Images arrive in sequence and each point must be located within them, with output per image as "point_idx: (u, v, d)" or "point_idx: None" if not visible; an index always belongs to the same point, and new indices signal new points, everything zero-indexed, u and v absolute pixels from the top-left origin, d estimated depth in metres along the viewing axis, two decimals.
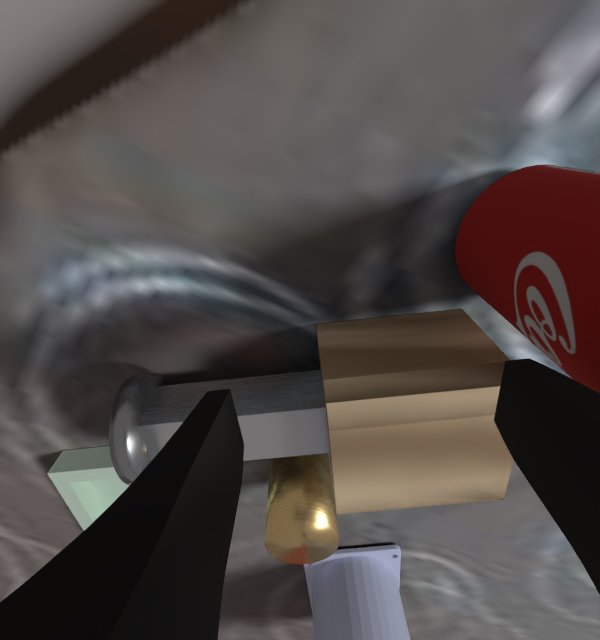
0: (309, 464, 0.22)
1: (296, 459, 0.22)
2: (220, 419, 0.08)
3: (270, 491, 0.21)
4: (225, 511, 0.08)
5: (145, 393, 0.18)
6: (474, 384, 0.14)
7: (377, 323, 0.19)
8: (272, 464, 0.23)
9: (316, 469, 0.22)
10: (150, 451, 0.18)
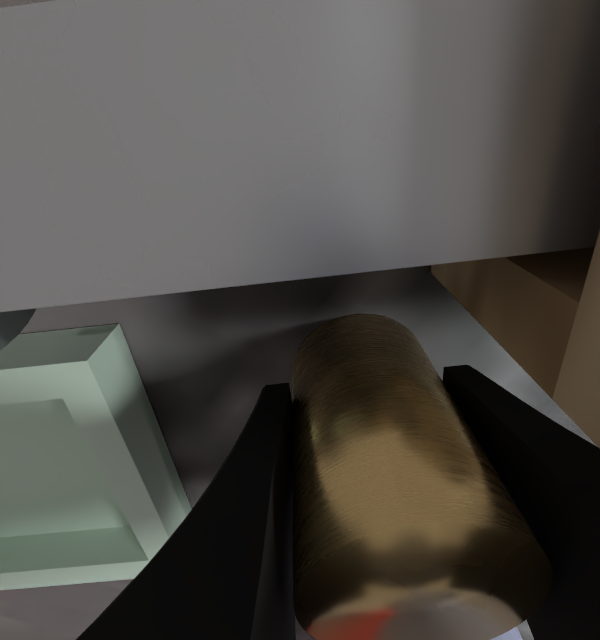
0: (407, 368, 0.08)
1: (370, 358, 0.08)
2: (287, 412, 0.08)
3: (302, 439, 0.07)
4: (292, 505, 0.08)
5: None
6: None
7: None
8: (301, 380, 0.09)
9: (428, 381, 0.08)
10: None
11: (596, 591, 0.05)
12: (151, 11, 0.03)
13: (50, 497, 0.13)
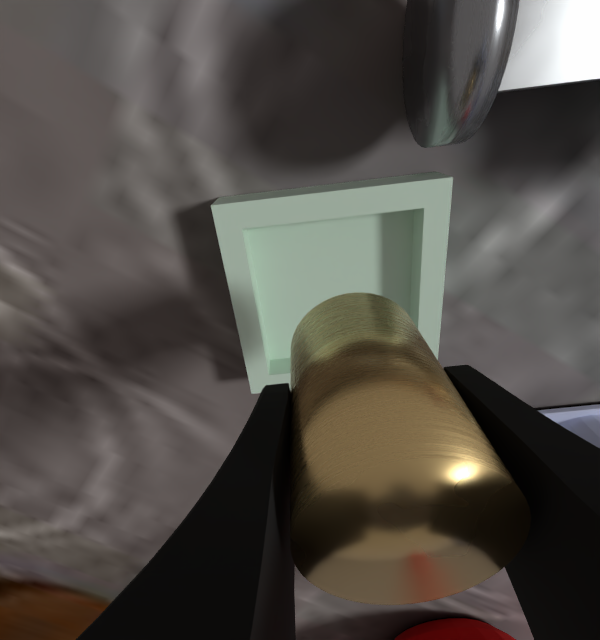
0: (404, 339, 0.08)
1: (369, 328, 0.09)
2: (287, 413, 0.08)
3: (302, 399, 0.08)
4: None
5: None
6: None
7: None
8: (302, 350, 0.09)
9: (423, 351, 0.08)
10: None
11: (596, 591, 0.05)
12: None
13: None
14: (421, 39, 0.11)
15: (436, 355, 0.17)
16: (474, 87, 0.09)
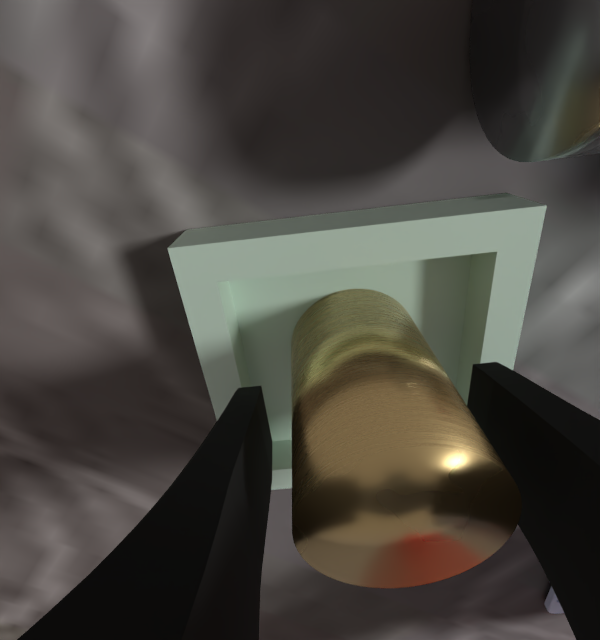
0: (402, 334, 0.09)
1: (369, 324, 0.09)
2: (255, 415, 0.08)
3: (303, 392, 0.08)
4: (261, 508, 0.08)
5: None
6: None
7: None
8: (302, 344, 0.10)
9: (420, 346, 0.09)
10: None
11: None
12: None
13: None
14: None
15: None
16: None
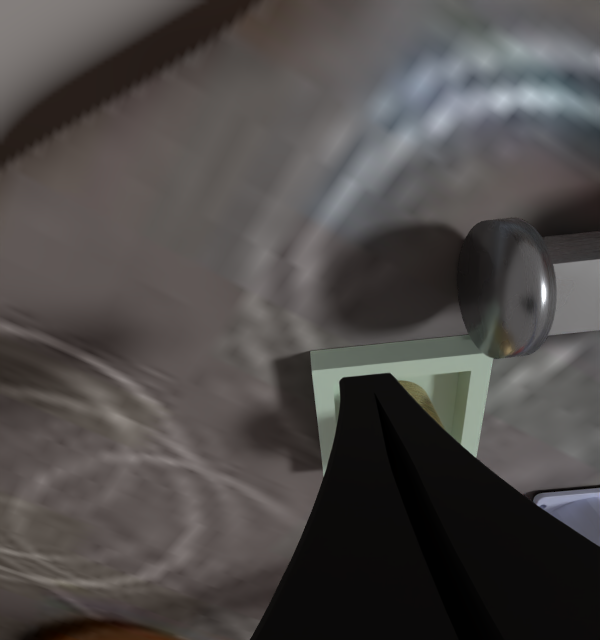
0: None
1: None
2: None
3: None
4: None
5: None
6: None
7: None
8: None
9: None
10: None
11: (449, 603, 0.05)
12: None
13: None
14: (477, 280, 0.16)
15: None
16: (521, 350, 0.13)
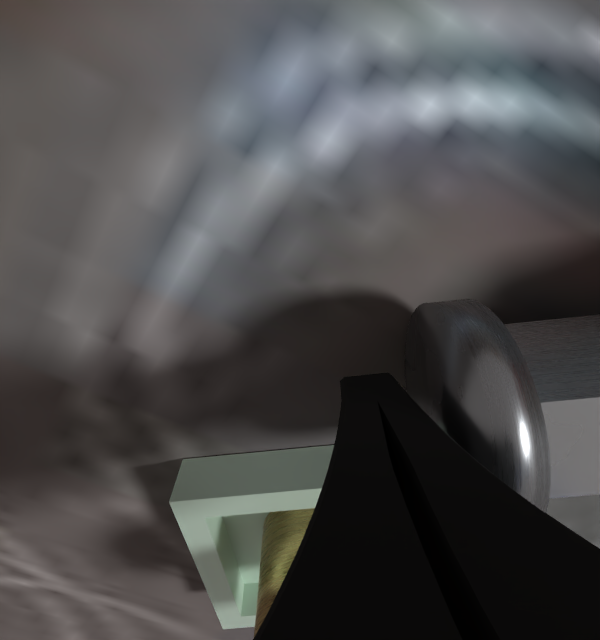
0: None
1: None
2: None
3: (260, 615, 0.12)
4: None
5: None
6: None
7: None
8: (265, 554, 0.13)
9: None
10: None
11: (446, 603, 0.05)
12: None
13: None
14: (426, 390, 0.10)
15: None
16: None
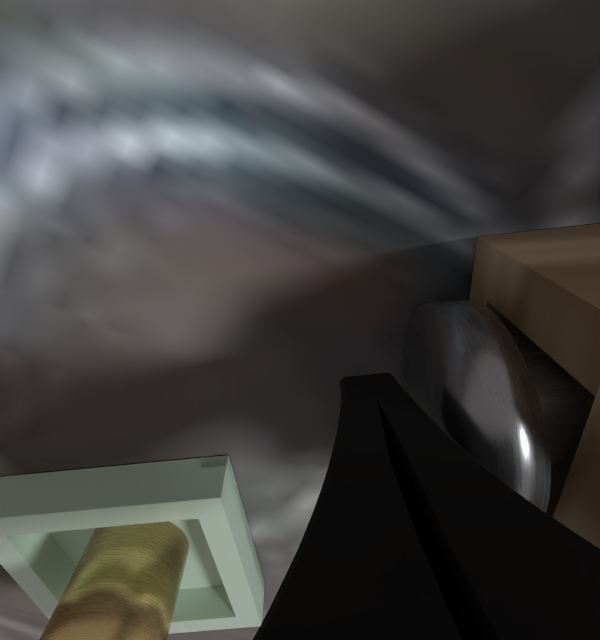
0: (119, 580, 0.12)
1: (100, 570, 0.13)
2: None
3: (42, 634, 0.12)
4: None
5: None
6: None
7: None
8: (73, 572, 0.14)
9: (129, 590, 0.12)
10: None
11: (447, 603, 0.05)
12: None
13: None
14: (426, 390, 0.10)
15: (256, 613, 0.16)
16: None
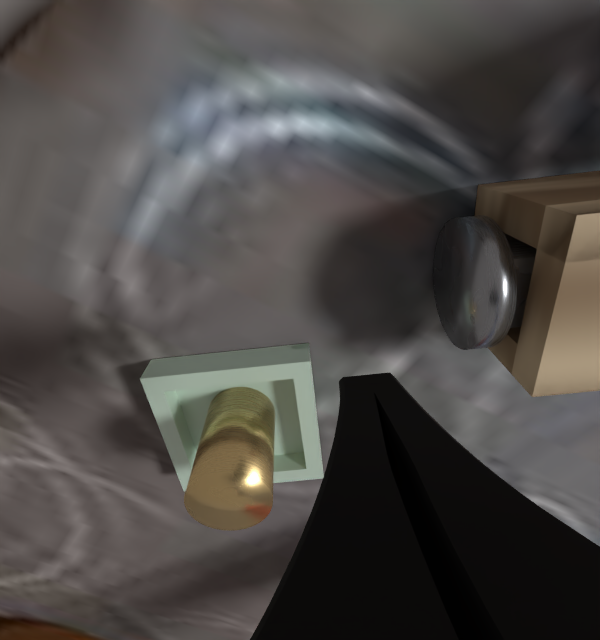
0: (241, 416, 0.19)
1: (227, 412, 0.19)
2: None
3: (197, 449, 0.18)
4: None
5: None
6: None
7: (559, 178, 0.16)
8: None
9: (249, 420, 0.19)
10: None
11: (449, 603, 0.05)
12: None
13: None
14: (449, 275, 0.16)
15: (321, 466, 0.22)
16: (487, 340, 0.14)
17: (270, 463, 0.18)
